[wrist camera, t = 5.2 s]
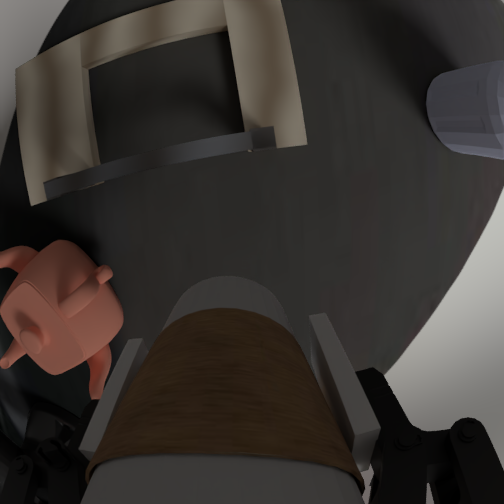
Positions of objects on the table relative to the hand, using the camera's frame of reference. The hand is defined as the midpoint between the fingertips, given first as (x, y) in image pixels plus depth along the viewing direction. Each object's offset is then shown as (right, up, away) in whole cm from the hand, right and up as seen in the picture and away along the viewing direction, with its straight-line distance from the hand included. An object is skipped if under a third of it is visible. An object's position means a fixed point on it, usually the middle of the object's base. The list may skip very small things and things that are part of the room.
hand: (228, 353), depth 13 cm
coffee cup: (0, +1, +2) cm, 2 cm away
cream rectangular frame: (-9, +19, +10) cm, 24 cm away
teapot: (-19, 0, +17) cm, 26 cm away
